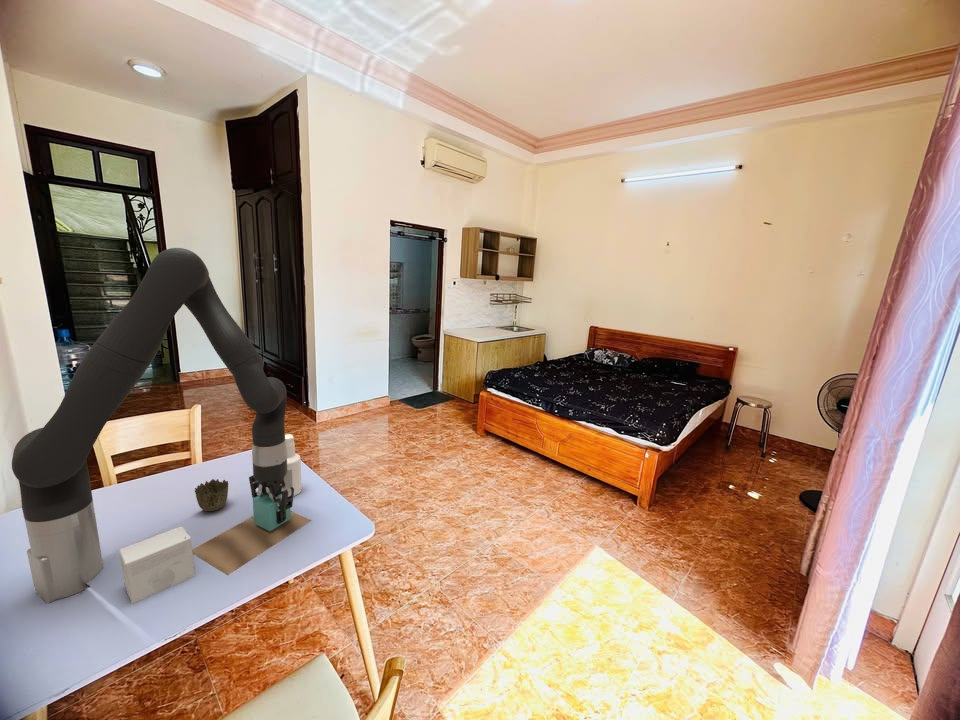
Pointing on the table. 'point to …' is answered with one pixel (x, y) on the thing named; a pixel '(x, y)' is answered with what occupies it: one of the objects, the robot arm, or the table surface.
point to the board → (245, 543)
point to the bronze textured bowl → (212, 495)
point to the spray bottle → (292, 466)
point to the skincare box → (157, 563)
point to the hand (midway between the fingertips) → (272, 517)
